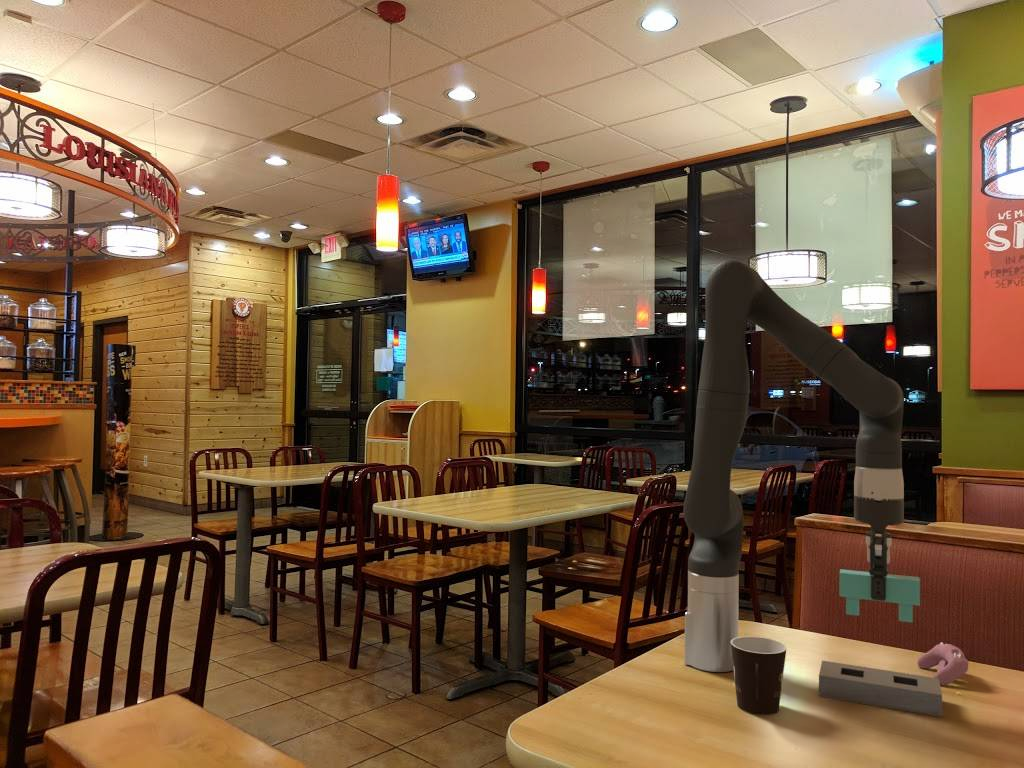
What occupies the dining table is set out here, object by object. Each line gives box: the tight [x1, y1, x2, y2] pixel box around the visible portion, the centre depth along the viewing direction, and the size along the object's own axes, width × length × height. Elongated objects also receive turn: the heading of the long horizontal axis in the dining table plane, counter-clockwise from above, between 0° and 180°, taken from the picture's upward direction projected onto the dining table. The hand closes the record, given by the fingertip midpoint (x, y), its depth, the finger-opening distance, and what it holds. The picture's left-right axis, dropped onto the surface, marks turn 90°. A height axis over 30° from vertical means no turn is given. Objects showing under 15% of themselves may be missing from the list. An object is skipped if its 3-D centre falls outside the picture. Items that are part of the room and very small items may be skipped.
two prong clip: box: [838, 568, 921, 623], centre depth 125 cm, size 12×3×7 cm, turn 64°
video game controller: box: [916, 641, 969, 686], centre depth 135 cm, size 10×5×7 cm, turn 169°
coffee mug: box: [731, 635, 787, 716], centre depth 120 cm, size 12×9×10 cm
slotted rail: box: [818, 660, 943, 718], centre depth 125 cm, size 18×8×4 cm, turn 64°
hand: (878, 596), depth 125 cm, fingers closed on two prong clip, 3 cm apart
